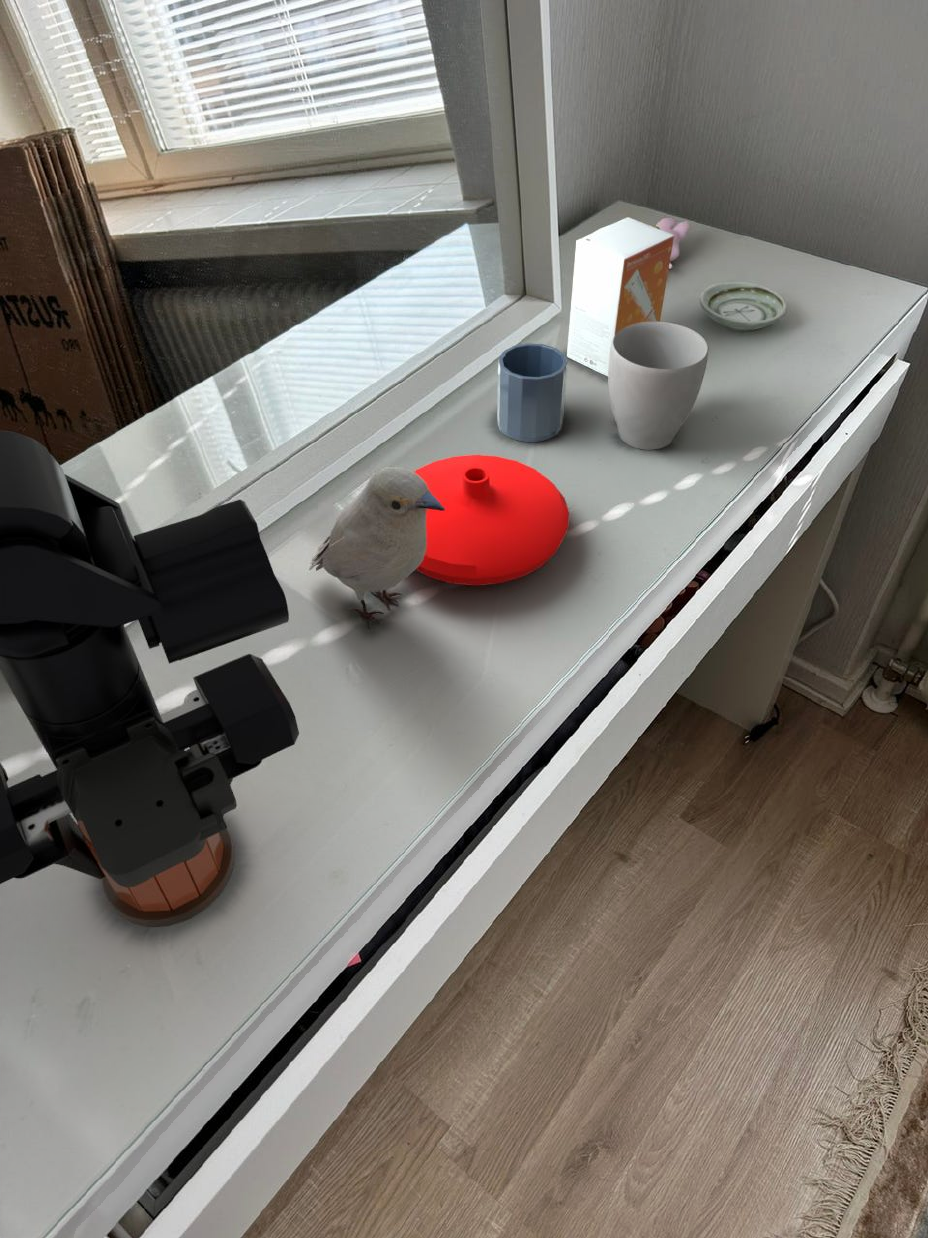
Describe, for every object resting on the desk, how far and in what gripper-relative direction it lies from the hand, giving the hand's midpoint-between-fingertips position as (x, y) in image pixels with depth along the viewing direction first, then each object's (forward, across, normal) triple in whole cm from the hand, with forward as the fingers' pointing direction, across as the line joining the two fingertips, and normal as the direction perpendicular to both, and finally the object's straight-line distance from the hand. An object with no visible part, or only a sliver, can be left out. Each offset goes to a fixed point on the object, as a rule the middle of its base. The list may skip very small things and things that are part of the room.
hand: (158, 843), depth 56 cm
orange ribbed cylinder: (+2, 0, 0) cm, 2 cm away
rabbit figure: (+3, +80, +48) cm, 93 cm away
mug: (+3, +57, +21) cm, 61 cm away
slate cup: (+3, +47, +28) cm, 55 cm away
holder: (+3, 0, 0) cm, 3 cm away
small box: (+3, +62, +34) cm, 71 cm away
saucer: (+3, +79, +32) cm, 85 cm away
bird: (+3, +22, +13) cm, 26 cm away
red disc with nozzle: (+3, +33, +16) cm, 37 cm away
